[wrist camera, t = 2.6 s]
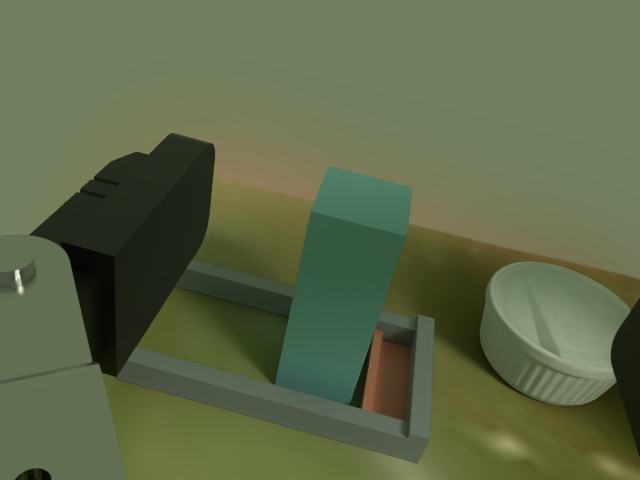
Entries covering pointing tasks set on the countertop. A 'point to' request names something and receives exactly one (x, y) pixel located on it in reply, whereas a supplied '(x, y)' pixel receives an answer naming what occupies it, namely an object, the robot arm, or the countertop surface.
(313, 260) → the teal block
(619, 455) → the countertop surface
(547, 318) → the ramekin
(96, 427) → the robot arm
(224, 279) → the grey rectangular frame
